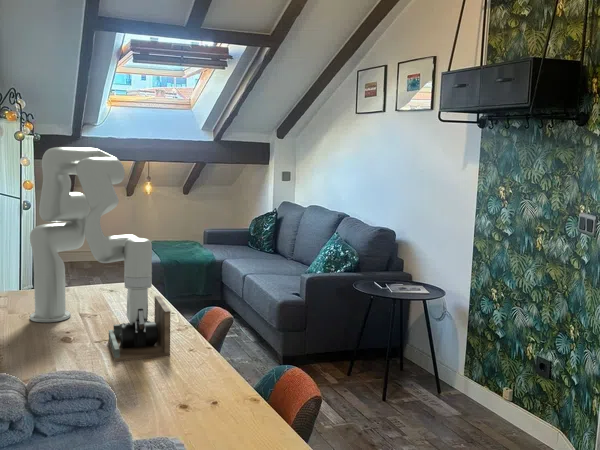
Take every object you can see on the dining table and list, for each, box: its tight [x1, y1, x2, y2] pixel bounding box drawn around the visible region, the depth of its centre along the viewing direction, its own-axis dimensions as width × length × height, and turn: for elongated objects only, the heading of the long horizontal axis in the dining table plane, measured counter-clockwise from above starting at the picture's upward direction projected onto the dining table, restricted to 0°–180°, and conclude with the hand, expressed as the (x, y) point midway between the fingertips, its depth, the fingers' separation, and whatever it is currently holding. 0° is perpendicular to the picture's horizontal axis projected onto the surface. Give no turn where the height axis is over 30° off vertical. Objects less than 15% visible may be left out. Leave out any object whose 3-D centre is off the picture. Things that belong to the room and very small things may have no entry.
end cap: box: [119, 320, 158, 348], centre depth 177 cm, size 10×7×7 cm
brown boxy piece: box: [108, 295, 171, 362], centre depth 177 cm, size 18×15×13 cm
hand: (138, 341), depth 177 cm, fingers closed on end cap, 7 cm apart
